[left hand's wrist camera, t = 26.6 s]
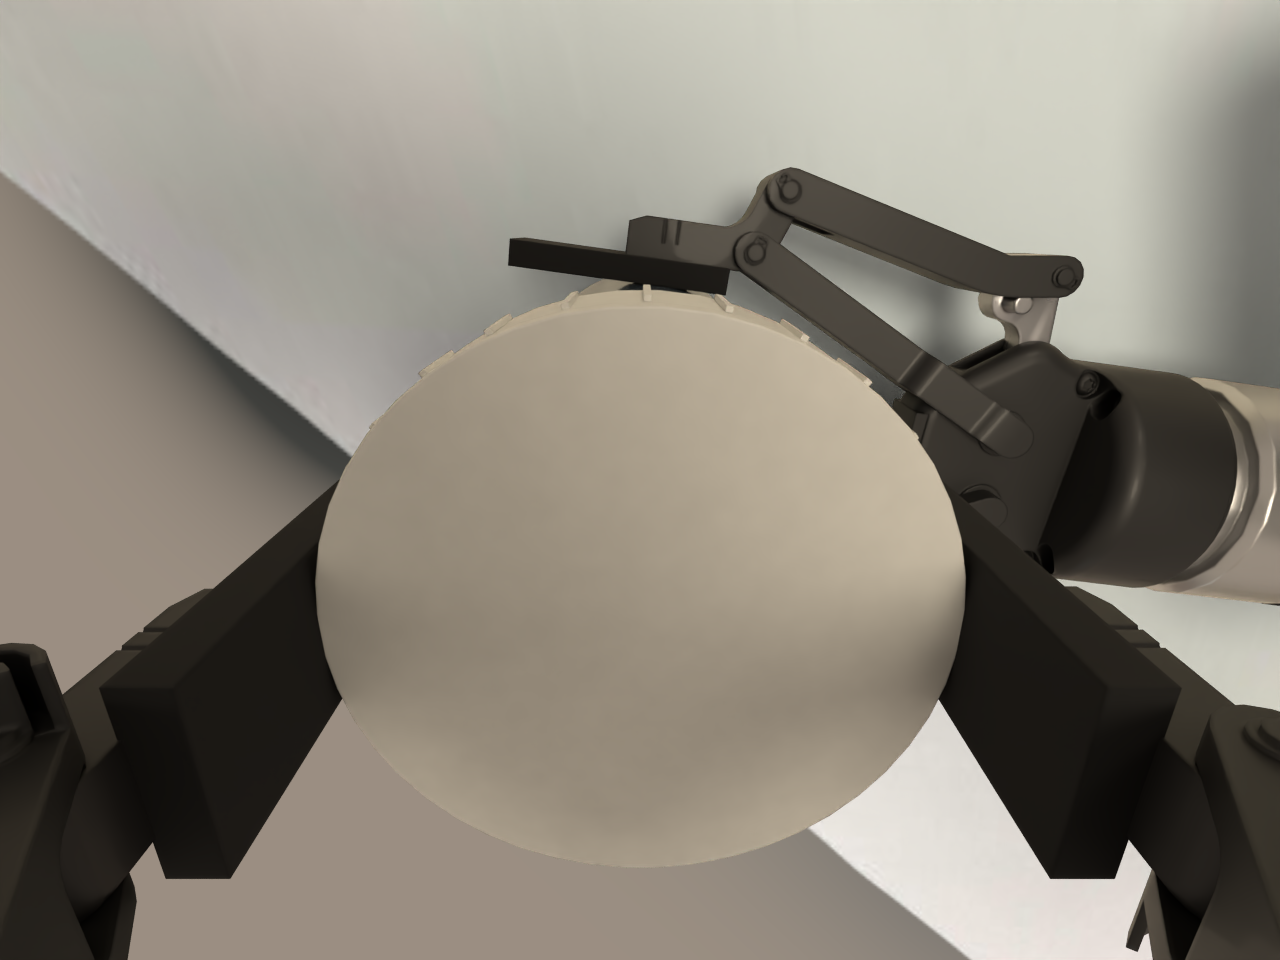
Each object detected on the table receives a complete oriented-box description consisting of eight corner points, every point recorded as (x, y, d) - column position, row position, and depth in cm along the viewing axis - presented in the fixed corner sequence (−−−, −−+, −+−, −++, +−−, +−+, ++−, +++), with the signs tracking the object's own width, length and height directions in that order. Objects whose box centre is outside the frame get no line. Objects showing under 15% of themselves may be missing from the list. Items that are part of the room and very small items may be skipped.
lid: (277, 636, 12) (211, 711, 11) (541, 149, 10) (516, 131, 8) (706, 848, 14) (715, 944, 12) (1036, 496, 11) (1114, 551, 10)
